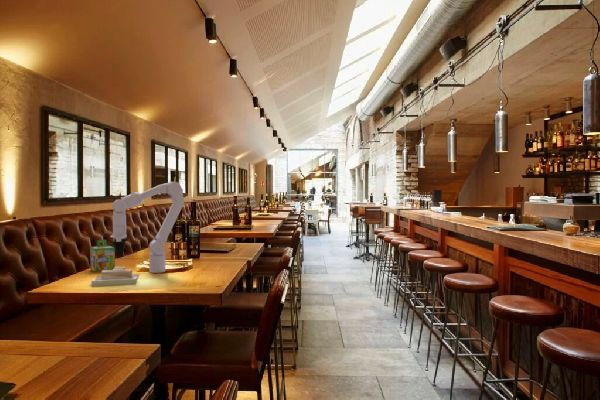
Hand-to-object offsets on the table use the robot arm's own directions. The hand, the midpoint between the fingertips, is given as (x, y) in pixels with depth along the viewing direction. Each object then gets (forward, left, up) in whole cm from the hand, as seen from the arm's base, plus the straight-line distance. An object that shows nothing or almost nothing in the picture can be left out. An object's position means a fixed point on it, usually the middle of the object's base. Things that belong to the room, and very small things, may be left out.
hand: (120, 255), depth 215 cm
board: (+13, 0, -9) cm, 16 cm away
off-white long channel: (+21, 0, -8) cm, 23 cm away
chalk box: (-16, -10, -10) cm, 21 cm away
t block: (+10, 0, -8) cm, 13 cm away
